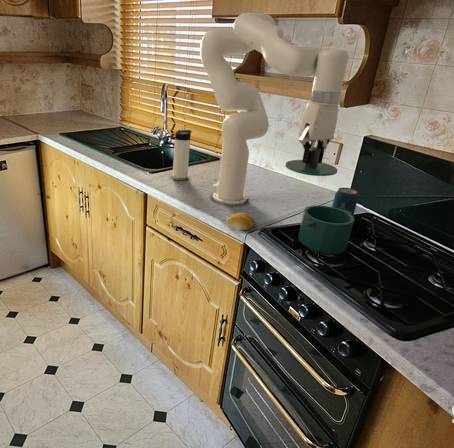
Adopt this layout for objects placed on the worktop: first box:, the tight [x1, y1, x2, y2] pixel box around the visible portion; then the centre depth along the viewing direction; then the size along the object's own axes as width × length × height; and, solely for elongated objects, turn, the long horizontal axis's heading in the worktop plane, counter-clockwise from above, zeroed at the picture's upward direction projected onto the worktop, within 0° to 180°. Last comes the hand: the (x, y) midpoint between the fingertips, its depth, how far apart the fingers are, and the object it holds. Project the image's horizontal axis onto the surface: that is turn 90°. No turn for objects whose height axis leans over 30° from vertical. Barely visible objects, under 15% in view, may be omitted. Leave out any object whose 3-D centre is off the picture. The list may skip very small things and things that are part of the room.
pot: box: [298, 205, 355, 256], centre depth 119 cm, size 14×19×10 cm
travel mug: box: [171, 129, 193, 181], centre depth 166 cm, size 6×7×20 cm
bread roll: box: [225, 212, 255, 231], centre depth 129 cm, size 8×9×4 cm
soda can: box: [331, 187, 359, 217], centre depth 132 cm, size 7×7×12 cm
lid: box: [284, 146, 338, 177], centre depth 118 cm, size 15×15×7 cm
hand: (311, 162), depth 119 cm, fingers closed on lid, 3 cm apart
